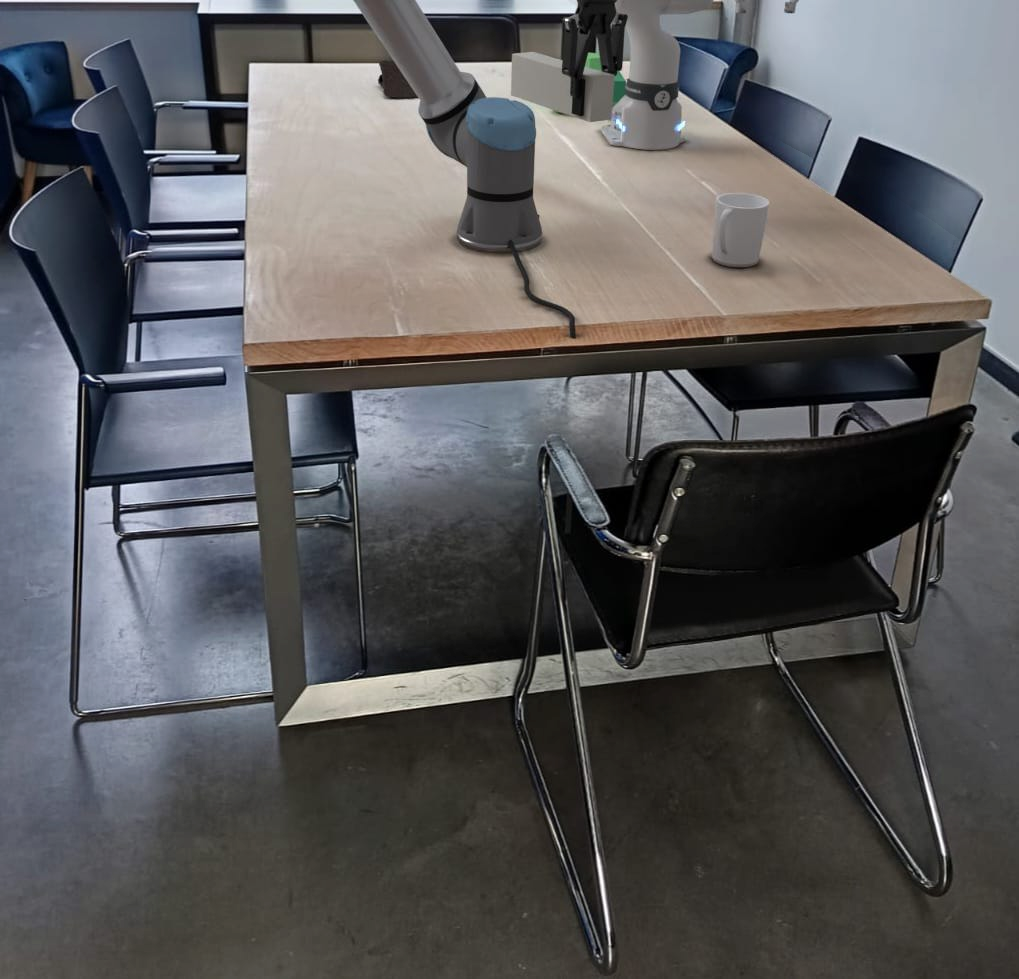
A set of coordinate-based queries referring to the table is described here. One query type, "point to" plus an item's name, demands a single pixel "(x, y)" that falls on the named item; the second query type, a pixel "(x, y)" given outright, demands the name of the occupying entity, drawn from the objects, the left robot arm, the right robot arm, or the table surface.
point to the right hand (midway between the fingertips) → (764, 12)
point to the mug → (739, 229)
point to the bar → (560, 86)
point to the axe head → (394, 81)
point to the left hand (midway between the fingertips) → (589, 112)
